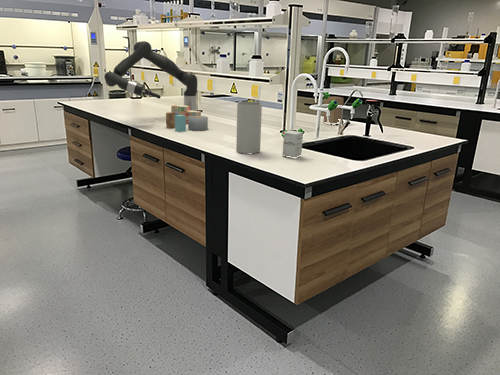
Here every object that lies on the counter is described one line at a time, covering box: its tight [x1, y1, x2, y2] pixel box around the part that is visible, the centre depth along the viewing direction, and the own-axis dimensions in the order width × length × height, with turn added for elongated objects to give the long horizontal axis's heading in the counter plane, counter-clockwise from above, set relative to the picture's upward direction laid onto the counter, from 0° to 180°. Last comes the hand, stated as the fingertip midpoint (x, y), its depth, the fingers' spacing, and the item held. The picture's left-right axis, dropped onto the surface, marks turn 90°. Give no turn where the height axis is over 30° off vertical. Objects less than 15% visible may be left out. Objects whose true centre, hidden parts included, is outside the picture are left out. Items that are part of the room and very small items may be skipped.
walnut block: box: [165, 111, 176, 130], centre depth 265 cm, size 5×5×10 cm
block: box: [323, 96, 345, 123], centre depth 297 cm, size 10×10×20 cm
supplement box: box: [282, 130, 304, 157], centre depth 199 cm, size 7×7×13 cm
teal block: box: [174, 115, 187, 133], centre depth 255 cm, size 5×5×10 cm
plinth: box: [187, 115, 209, 132], centre depth 263 cm, size 13×13×8 cm
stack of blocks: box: [170, 104, 202, 125], centre depth 283 cm, size 21×6×12 cm, turn 64°
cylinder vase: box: [235, 101, 263, 154], centre depth 204 cm, size 12×12×25 cm
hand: (159, 96), depth 261 cm, fingers open, 8 cm apart
